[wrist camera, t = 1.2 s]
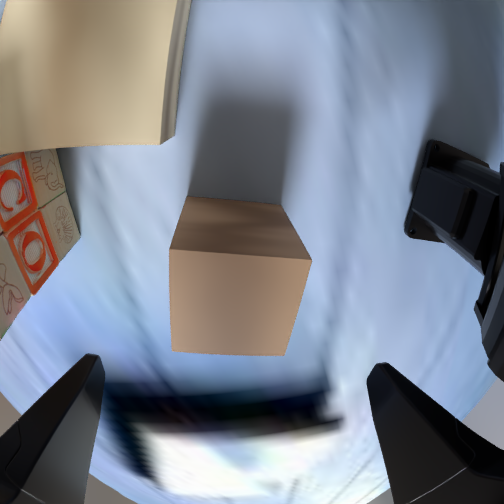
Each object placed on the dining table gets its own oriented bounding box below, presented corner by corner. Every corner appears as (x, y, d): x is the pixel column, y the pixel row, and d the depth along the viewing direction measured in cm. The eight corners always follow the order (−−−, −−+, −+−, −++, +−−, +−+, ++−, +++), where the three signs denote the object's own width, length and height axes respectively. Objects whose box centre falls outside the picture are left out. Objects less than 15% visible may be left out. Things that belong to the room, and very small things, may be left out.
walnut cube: (280, 204, 16) (312, 259, 10) (266, 282, 18) (284, 355, 13) (187, 196, 15) (169, 249, 10) (183, 276, 17) (171, 351, 12)
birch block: (196, -21, 9) (190, -56, 6) (175, 135, 14) (159, 144, 10) (47, 1, 8) (11, -14, 5) (31, 141, 12) (-11, 156, 9)
